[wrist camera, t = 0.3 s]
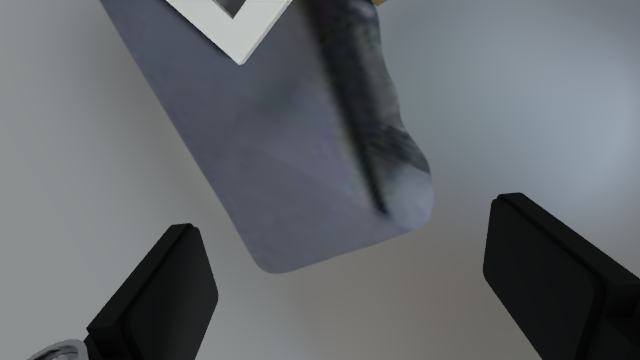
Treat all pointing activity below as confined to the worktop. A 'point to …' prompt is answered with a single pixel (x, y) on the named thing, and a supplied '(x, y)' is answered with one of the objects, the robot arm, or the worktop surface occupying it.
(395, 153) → the worktop surface
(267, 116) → the worktop surface
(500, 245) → the robot arm
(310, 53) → the worktop surface
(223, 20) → the socket housing
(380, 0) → the plug block
